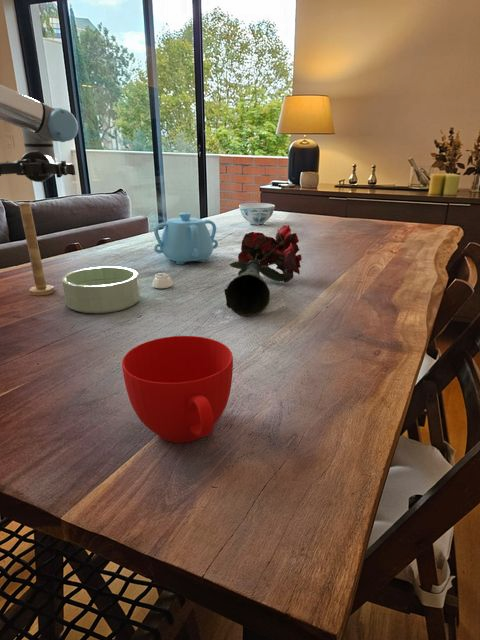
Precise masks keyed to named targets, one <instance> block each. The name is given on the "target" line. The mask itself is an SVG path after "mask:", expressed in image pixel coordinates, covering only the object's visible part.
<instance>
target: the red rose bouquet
mask: <svg viewBox="0 0 480 640" xmlns="http://www.w3.org/2000/svg"><path fill="white" fill-rule="evenodd" d="M291 232H292V229H291V227H290V225H289V224H284V225H282V227H280V228H279V229H277V232H276V234H275V238H274V237H273V236H268V235H265V233H263V232H259V231H258V232H257V231H255V232H254V231H250V232H248V233H245V234H244V236H243V239H242V240H241V245H240V252H239V253H238V255H237V261H234V262H231V263H229V266H230V267H231V268H234V269H237V270H239V271H238V273H237V275H236V277H234V278H233V279H232V280H230V282H229V283H228V285H227V287H226V288H224V296H225V301H226V302H225V303H226V304H225V305H226V307H227V308H228V309H230V310H231V311H233V313H235V314H236V315H238V316H241V317H244V318H245V317H246V318H253V317H256V316H258V315H259V314H261V313H263V312H264V311H265V310H267V308H268V306H269V305H270V300H271V292H270V289H269V286H268V284H267V283H266V281H264V279H263V277H262V276H261V274H262V275H263V276H264V277H266V278H268V279H270V280H272V281H275V282H280V281H281V282H284V283H285V282H286V283H288V282H290V281H291V280H293V278H294V273H296V274H297V275H300V273H301V271H300V268H301V262H302V258H303V257H302V254H301V253H299V254H297V253H298V252H299V251H300V250H301V249H300V248H299V244H298V243H299V241H300V240H299V238H298V235H297V232H293V233H291ZM271 265H272V266H273V265H276V268H275V269H276V270H275V269H274V268H272V267H270V266H271ZM278 270H280V271H281V272H282V273H280V272H278Z"/></svg>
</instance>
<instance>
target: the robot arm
mask: <svg viewBox="0 0 480 640" xmlns="http://www.w3.org/2000/svg"><path fill="white" fill-rule="evenodd" d="M0 121H3V122H6V123H9V124H11V125H14V126H16V127H19V128H21V134H22V139H23V144H24V151H25V153H24V154H23V155H22V156H21V158H20V159H19V160H14V161H13V162H11V161H8V160H6V161H2V162H0V177H2V175H14V174H15V175H16V176H24V177H26V178H27V179H29V180H30V181H32V182H35V183H44V182H45V181H46V180H47V181H48V179H49V178H52V177H53V176H56V178H61V177H62V176H68V175H71V176H75V175H76V168H75V167H76V166H75V164H74V163H72V162H71V163H68V162H67V161H66V160H61V161H58V159H57V158H56V154H55V147H54V142H60V143H65V142H70V141H72V140H74V139H75V138H76V136H77V135H78V133H79V123H78V121H77V119H76V117H75V115H74V114H73V113H72V112H71V111H69V110H68V109H64V108H61V107H60V108H58V107H57V108H55V107H52V106H51V105H49V104H46V103H44V102H41V101H39V100H37V99H34V98H32V97H30V96H27V95H25V94H23V93H21V92H19V91H16V90H14V89H11V88H10V87H7V86H5V85H3V84H1V83H0Z"/></svg>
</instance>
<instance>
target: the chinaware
mask: <svg viewBox="0 0 480 640" xmlns="http://www.w3.org/2000/svg"><path fill="white" fill-rule="evenodd" d="M238 206H239V211H240V213H241V216H242V217H243V219H245V221H247V222H248V224H249V225H250V224H264V223H265V224H266V222H267V221H268V220H270V219H271V217H272V216H273V213H274V211H275V207H276V205H275V204H272V203H267V202H245V203H240V204H239V205H238ZM265 224H264V225H265Z"/></svg>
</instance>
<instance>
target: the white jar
mask: <svg viewBox="0 0 480 640" xmlns="http://www.w3.org/2000/svg"><path fill="white" fill-rule="evenodd" d="M173 285H174V282H173V280H172V279H171V277H170V276H169V274H168V273H166V272H165V273H164V272H161V273H156V274H155V275H154V278H153V280H152V282H151V287H153V288H156V289H160V290H161V289H169V288H170V287H173Z"/></svg>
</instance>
